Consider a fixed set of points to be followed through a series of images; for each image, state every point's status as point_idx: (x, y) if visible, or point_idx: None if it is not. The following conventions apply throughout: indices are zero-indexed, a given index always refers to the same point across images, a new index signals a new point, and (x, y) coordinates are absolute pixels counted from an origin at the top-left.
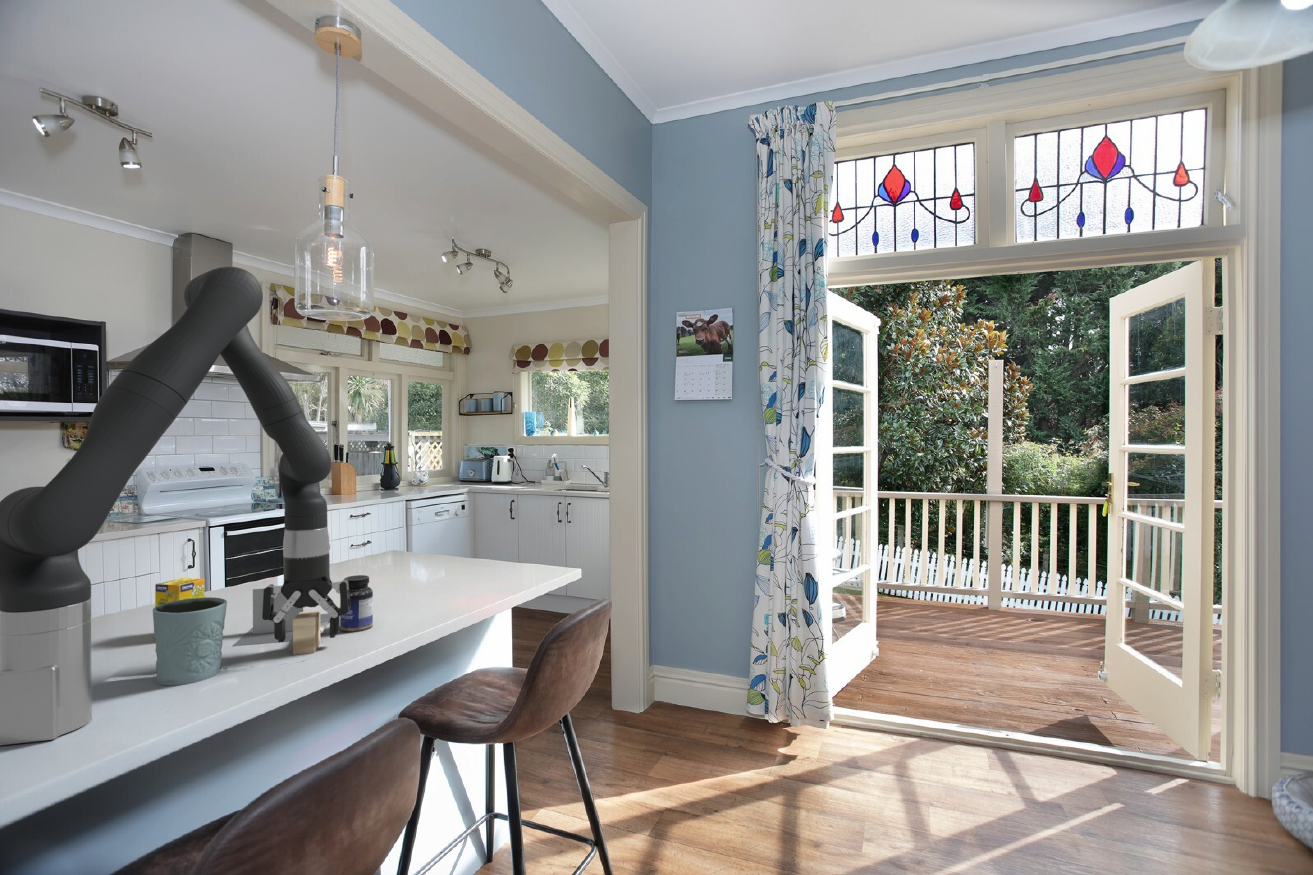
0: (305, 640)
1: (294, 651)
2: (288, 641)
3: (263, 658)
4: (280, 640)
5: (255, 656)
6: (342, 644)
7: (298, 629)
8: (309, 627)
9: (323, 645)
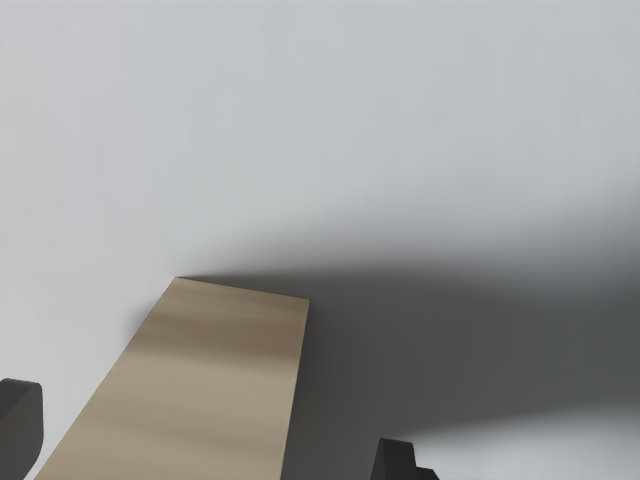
0: (201, 349)
1: (295, 320)
2: None
3: (492, 375)
4: (397, 446)
5: (538, 434)
6: None
7: (235, 426)
8: (129, 416)
9: None
